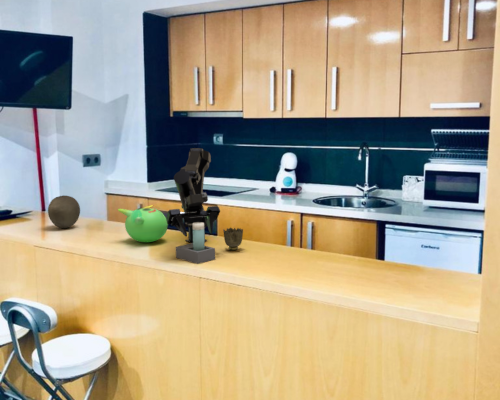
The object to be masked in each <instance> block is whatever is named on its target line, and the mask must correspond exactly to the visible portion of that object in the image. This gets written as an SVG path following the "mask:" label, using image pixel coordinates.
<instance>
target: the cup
mask: <svg viewBox="0 0 500 400" xmlns="http://www.w3.org/2000/svg"><path fill="white" fill-rule="evenodd" d="M222 230H223V231H222V232H223V238H224V242H225V245H226V246H227V247H228V250H229V251H230V252H231V251H232V252H235V251H238V250H239V246H241V244H242V242H243V233H244V229H243V228H239V227H237V228H236V227H234V228H232V227H229V228H228V227H227V228H226V229H225V228H223V229H222Z"/></svg>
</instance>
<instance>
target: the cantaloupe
mask: <svg viewBox="0 0 500 400" xmlns="http://www.w3.org/2000/svg"><path fill="white" fill-rule="evenodd" d="M80 214H81V207H80V204H79V201H78V200H77V199H76V198H74V197H73V196H70V195H59V196H56V197H54V198H53V199H52V200H51V201H50V202H49V204H48V207H47V216H48V217H49V219H50V220H49V221H51V223H52V224H53V225H54V226H55V227H57V228H60V229H67V228H70V227H71V226H73V225H75V224H76V223H77V221H79V217H80Z"/></svg>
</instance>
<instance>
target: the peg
mask: <svg viewBox="0 0 500 400" xmlns="http://www.w3.org/2000/svg"><path fill="white" fill-rule="evenodd" d="M204 231H205V228H204V223H203V222H195V223H193V250H195V251H201V250H205V246H206V245H205V242H204Z"/></svg>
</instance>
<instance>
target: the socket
mask: <svg viewBox="0 0 500 400" xmlns="http://www.w3.org/2000/svg"><path fill="white" fill-rule="evenodd" d="M175 258H176V259H179V260H182V261H187V262H190V263H194V264H196V265H197V264H203V263H205V262H206V263H207V262H209V261H215V260H216V248H215V247H211V246H206V245H205V250H201V251H195V250H193V243H191V242H189V243H187V244H186V243H185V244H183V245H182V244H181V245H179V246H175Z"/></svg>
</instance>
